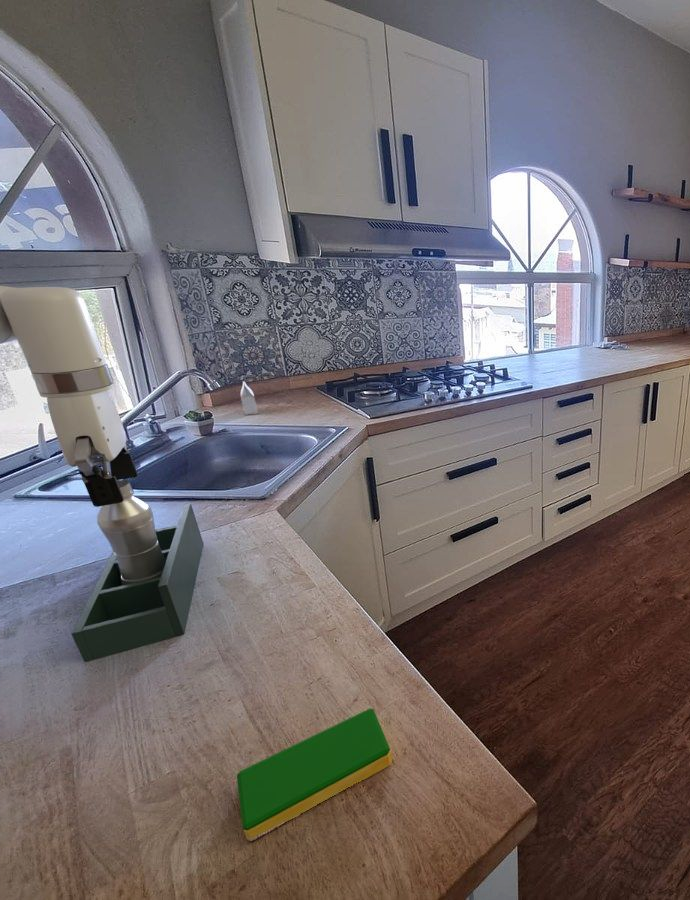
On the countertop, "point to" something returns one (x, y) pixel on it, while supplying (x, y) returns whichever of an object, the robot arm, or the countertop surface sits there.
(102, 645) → the box
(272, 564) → the countertop surface
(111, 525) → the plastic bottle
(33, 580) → the countertop surface
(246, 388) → the white gabled block
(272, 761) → the dish sponge
